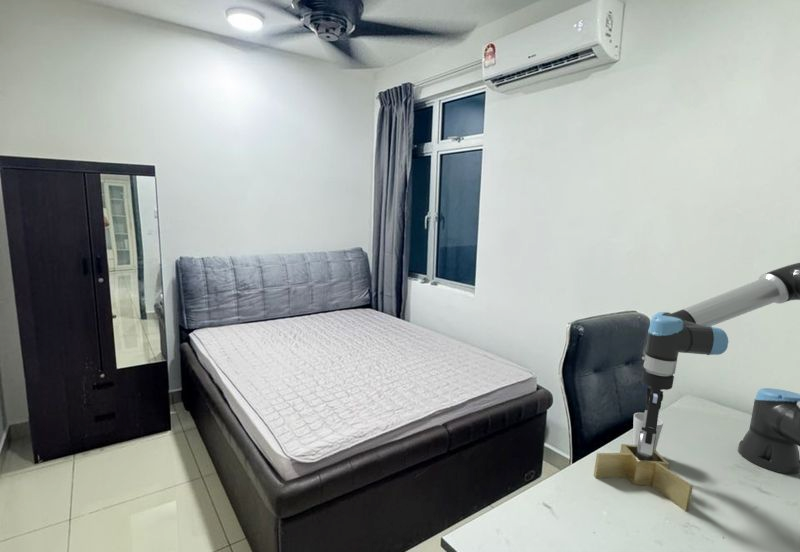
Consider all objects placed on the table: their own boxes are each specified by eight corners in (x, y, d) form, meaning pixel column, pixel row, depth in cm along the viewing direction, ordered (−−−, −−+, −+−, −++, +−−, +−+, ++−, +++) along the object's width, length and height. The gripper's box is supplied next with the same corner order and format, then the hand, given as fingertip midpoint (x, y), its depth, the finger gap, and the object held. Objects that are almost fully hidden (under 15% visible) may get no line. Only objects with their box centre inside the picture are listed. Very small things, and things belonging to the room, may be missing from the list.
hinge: (648, 467, 125) (652, 446, 124) (689, 511, 107) (693, 486, 106) (584, 463, 125) (587, 441, 124) (614, 506, 107) (618, 481, 106)
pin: (643, 472, 123) (650, 431, 121) (651, 480, 119) (659, 438, 117) (630, 471, 123) (637, 430, 121) (637, 479, 119) (644, 437, 117)
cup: (629, 457, 130) (635, 421, 128) (626, 444, 138) (632, 410, 136) (659, 464, 127) (665, 427, 126) (654, 451, 135) (660, 416, 133)
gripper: (643, 356, 128) (633, 420, 132) (641, 382, 107) (629, 458, 110) (672, 362, 125) (661, 428, 128) (676, 389, 103) (662, 468, 107)
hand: (646, 442), depth 119 cm, fingers open, 13 cm apart
